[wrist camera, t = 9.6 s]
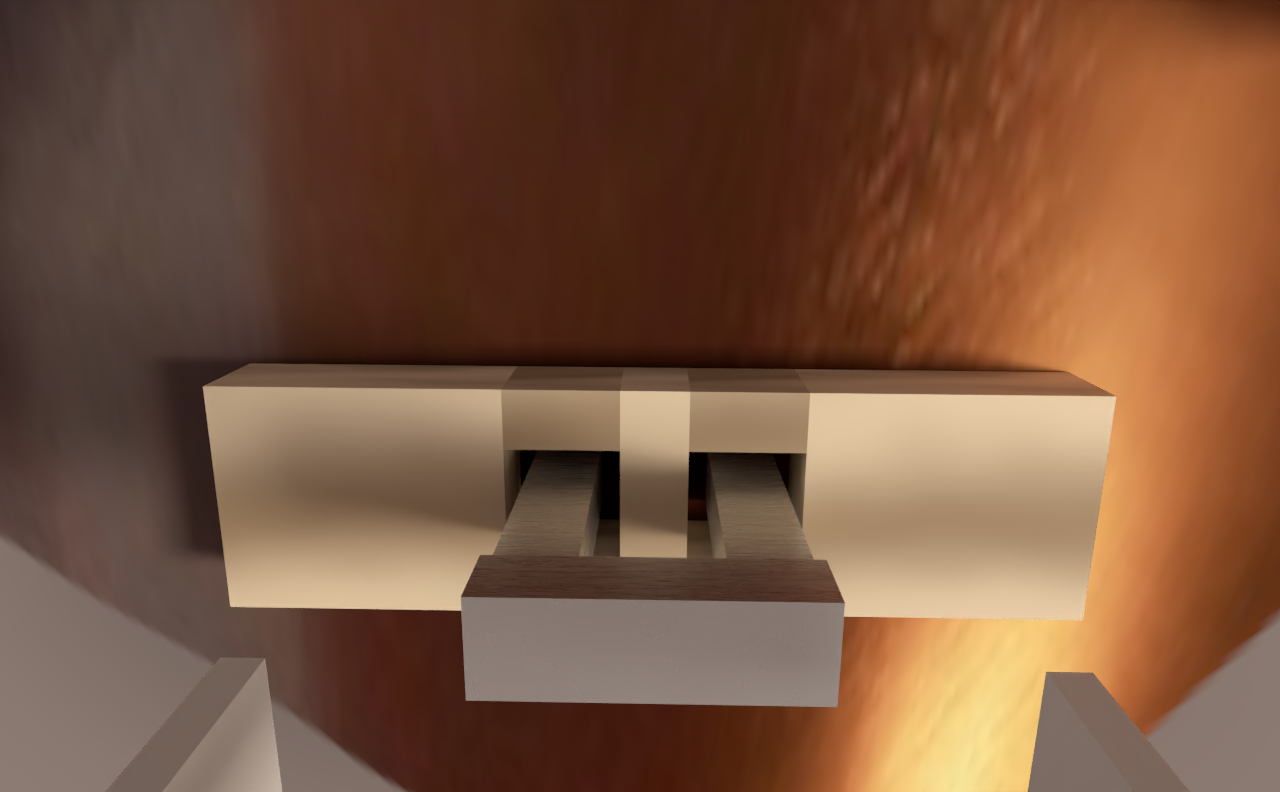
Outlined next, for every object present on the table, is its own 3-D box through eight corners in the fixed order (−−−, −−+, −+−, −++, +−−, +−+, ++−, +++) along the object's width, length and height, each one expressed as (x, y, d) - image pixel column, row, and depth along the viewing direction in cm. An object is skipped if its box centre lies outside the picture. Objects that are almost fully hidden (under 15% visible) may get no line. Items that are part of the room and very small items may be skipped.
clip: (534, 435, 28) (460, 597, 18) (774, 438, 28) (844, 603, 18) (536, 504, 29) (465, 700, 18) (771, 507, 29) (837, 706, 18)
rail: (250, 363, 28) (202, 386, 25) (1068, 372, 28) (1116, 396, 25) (272, 563, 30) (230, 606, 27) (1040, 575, 29) (1082, 620, 26)
